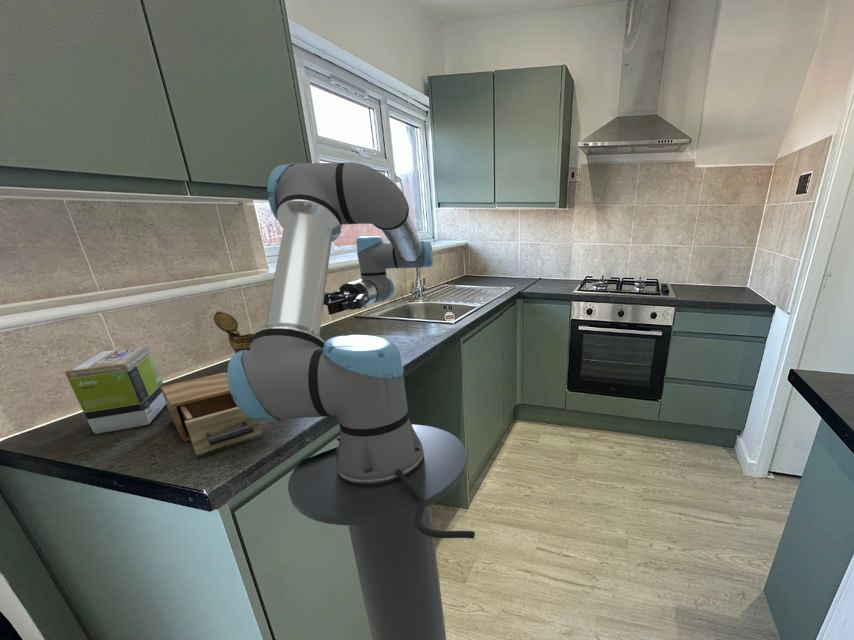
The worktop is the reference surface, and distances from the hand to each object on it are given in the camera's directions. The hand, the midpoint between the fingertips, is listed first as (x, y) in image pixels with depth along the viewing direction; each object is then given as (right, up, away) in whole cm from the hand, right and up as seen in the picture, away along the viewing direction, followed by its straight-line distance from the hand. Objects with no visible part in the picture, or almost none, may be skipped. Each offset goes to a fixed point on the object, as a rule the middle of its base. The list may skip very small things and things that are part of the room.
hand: (305, 308), depth 101 cm
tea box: (-37, -26, -4) cm, 46 cm away
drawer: (-8, -29, -17) cm, 34 cm away
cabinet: (-17, -27, -8) cm, 33 cm away
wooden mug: (-29, -15, +24) cm, 41 cm away
